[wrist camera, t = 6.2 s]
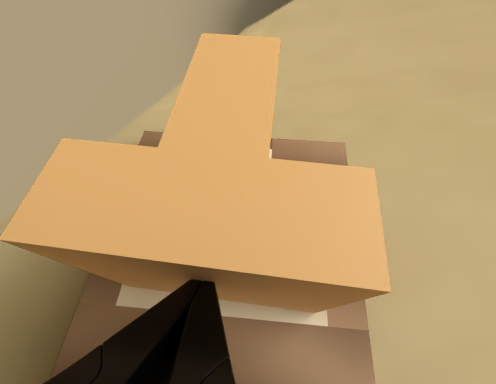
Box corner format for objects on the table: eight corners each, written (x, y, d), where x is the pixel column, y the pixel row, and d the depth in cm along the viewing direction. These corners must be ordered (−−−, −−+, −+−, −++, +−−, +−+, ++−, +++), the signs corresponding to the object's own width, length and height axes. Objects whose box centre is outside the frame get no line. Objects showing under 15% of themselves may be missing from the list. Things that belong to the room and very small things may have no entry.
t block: (315, 313, 13) (391, 292, 6) (129, 286, 14) (-2, 239, 7) (315, 157, 18) (357, 42, 11) (177, 143, 18) (132, 28, 11)
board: (387, 603, 9) (409, 647, 8) (9, 544, 10) (-26, 576, 9) (338, 155, 20) (344, 142, 18) (151, 143, 20) (144, 131, 19)
